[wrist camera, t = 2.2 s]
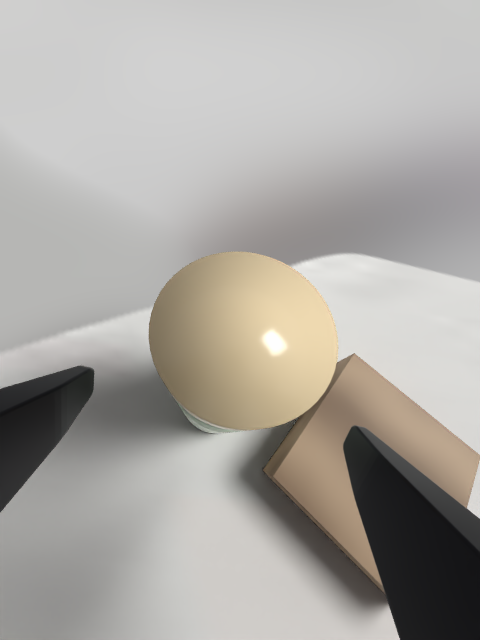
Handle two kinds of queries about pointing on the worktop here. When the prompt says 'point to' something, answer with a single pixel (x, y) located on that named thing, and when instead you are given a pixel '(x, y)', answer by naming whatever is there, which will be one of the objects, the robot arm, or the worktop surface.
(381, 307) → the worktop surface
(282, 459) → the base
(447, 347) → the worktop surface
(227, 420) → the cream-capped mint cylinder
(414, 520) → the robot arm
